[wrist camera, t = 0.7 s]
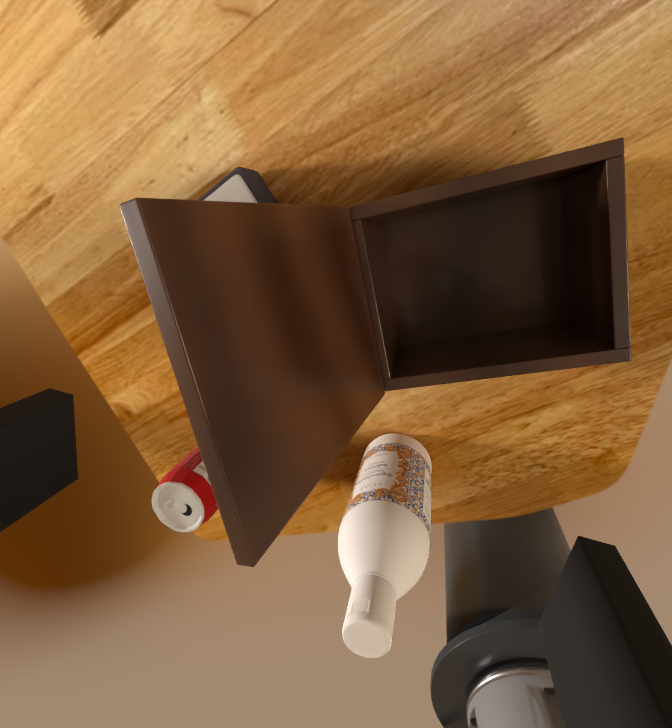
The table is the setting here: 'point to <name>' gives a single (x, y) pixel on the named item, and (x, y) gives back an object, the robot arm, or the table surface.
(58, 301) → the table surface
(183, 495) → the soda can
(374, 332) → the chest
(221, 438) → the chest lid
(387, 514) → the bath foam
